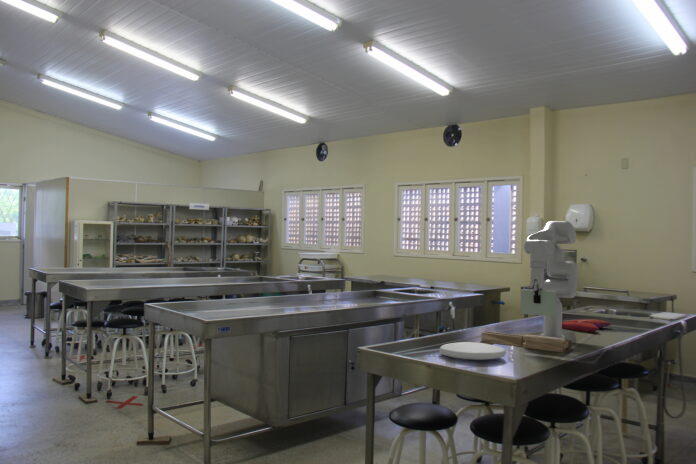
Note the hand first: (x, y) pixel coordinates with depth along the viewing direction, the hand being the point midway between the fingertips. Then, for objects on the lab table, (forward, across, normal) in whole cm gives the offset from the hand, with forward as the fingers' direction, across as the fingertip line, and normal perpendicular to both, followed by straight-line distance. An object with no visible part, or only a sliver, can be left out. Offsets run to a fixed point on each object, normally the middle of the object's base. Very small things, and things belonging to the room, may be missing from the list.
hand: (537, 302), depth 259 cm
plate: (+22, +41, -19) cm, 50 cm away
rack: (+22, +3, +5) cm, 23 cm away
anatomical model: (+23, -83, +8) cm, 87 cm away
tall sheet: (+6, 0, 0) cm, 6 cm away
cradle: (+22, +2, -16) cm, 27 cm away
